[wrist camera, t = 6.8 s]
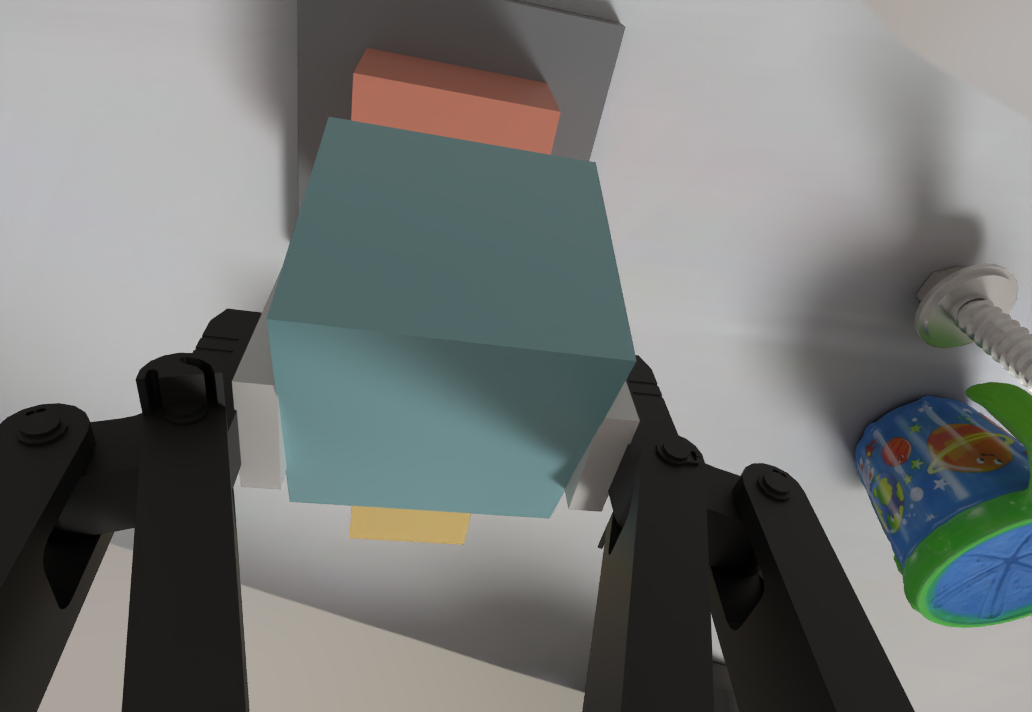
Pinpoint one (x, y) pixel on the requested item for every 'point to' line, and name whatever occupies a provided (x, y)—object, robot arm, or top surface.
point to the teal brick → (445, 324)
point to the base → (459, 41)
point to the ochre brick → (408, 525)
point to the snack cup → (957, 502)
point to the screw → (976, 315)
